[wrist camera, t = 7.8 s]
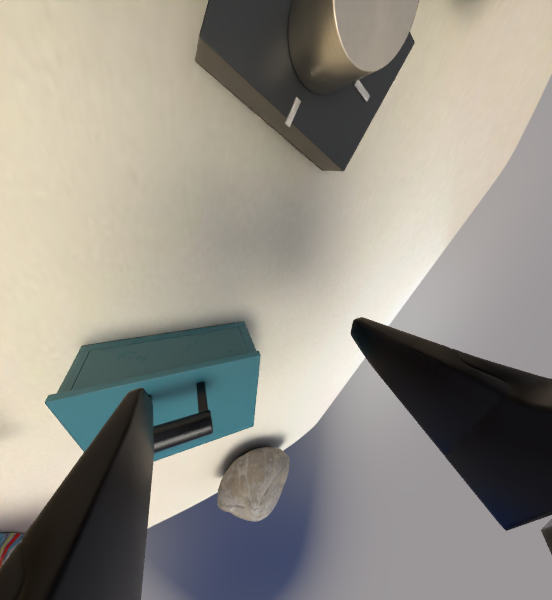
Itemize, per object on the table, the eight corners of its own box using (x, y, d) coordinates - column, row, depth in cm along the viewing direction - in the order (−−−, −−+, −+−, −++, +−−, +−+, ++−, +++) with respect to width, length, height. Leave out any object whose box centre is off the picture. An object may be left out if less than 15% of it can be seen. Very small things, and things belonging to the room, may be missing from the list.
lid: (48, 394, 13) (-2, 482, 10) (258, 350, 19) (278, 395, 15) (107, 471, 20) (90, 542, 16) (252, 421, 25) (265, 465, 21)
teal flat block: (81, 345, 18) (52, 399, 14) (244, 321, 23) (258, 354, 19) (119, 418, 24) (107, 470, 20) (241, 385, 29) (252, 421, 25)
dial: (338, 108, 13) (393, 88, 10) (278, 72, 11) (321, 33, 8) (369, 5, 11) (450, -62, 8) (303, -60, 9) (373, -186, 6)
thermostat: (193, 67, 12) (197, 42, 10) (255, -161, 9) (283, -280, 7) (320, 174, 18) (343, 175, 16) (381, 56, 15) (420, 35, 13)
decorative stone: (236, 510, 43) (218, 585, 28) (215, 460, 45) (189, 505, 31) (297, 467, 45) (308, 515, 31) (273, 421, 48) (274, 447, 33)
